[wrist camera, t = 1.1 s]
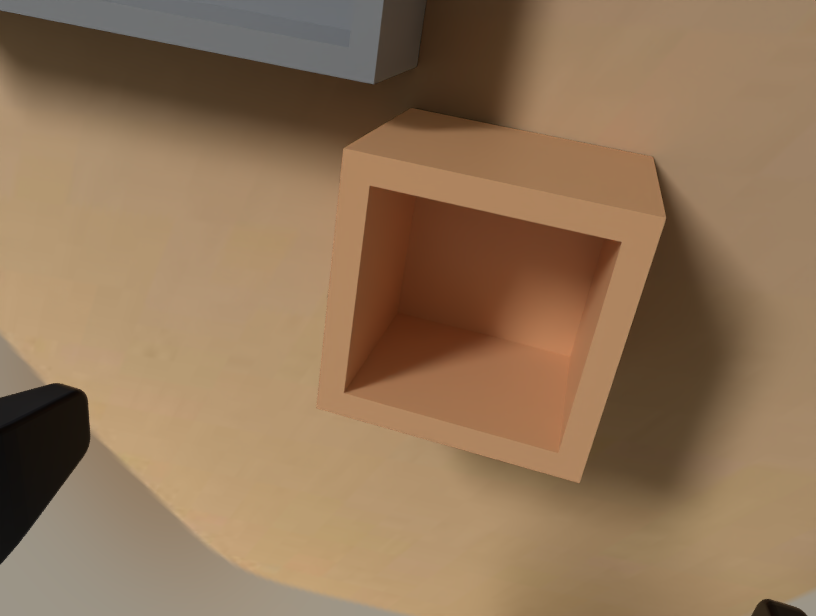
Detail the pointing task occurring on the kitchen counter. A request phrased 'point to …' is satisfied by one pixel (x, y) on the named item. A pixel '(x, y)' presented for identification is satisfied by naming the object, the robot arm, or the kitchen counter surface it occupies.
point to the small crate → (485, 285)
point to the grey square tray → (262, 29)
